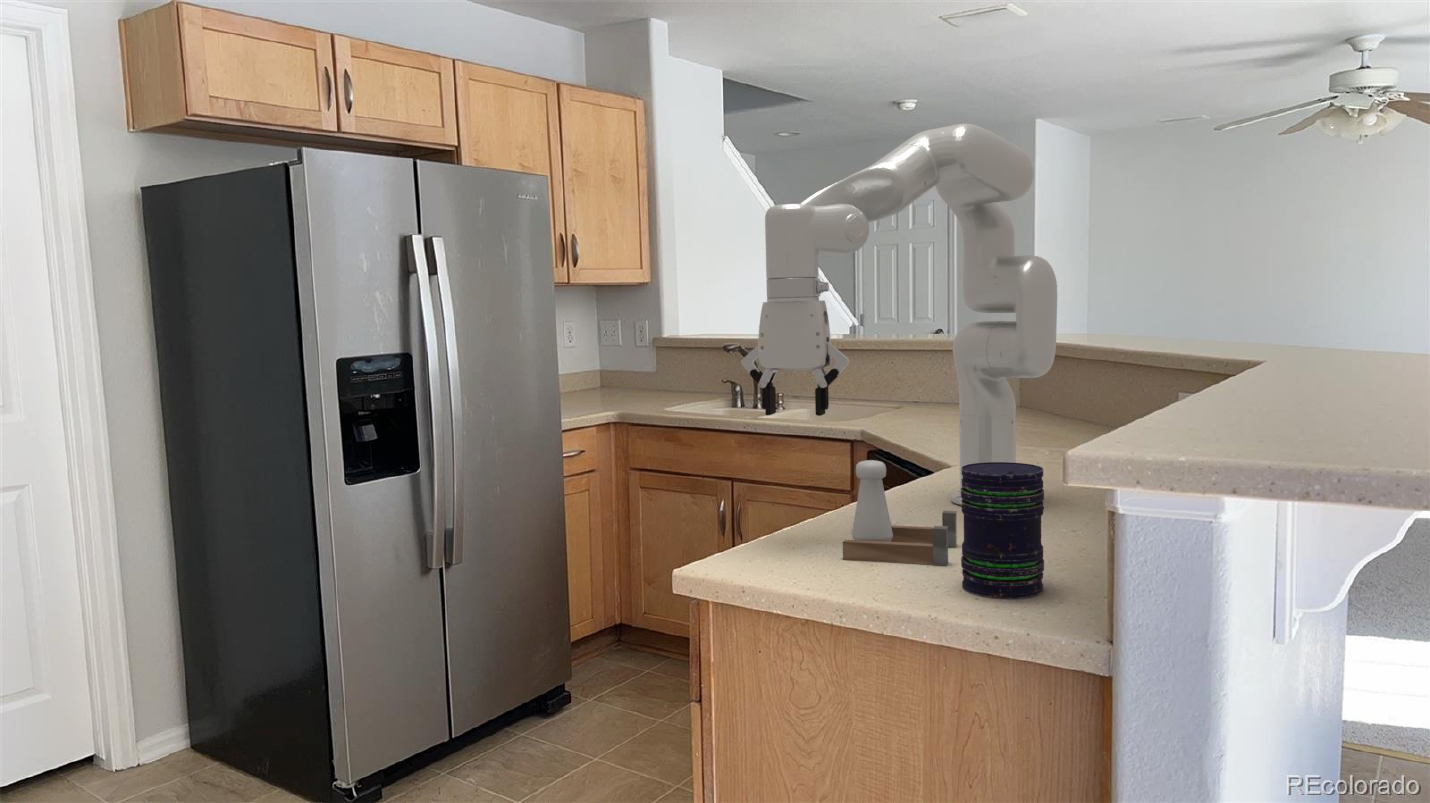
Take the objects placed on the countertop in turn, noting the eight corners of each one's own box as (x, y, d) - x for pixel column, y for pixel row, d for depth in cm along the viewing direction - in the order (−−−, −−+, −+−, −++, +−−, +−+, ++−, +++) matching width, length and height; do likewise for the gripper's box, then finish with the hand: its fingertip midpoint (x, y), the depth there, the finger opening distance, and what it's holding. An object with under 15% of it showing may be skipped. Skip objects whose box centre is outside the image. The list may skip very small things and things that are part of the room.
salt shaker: (900, 549, 145) (899, 460, 144) (878, 557, 141) (876, 465, 140) (866, 543, 149) (865, 457, 148) (844, 551, 145) (842, 462, 144)
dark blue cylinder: (950, 578, 129) (950, 463, 128) (1025, 575, 130) (1025, 460, 128) (976, 601, 119) (976, 476, 118) (1057, 597, 120) (1057, 473, 119)
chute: (860, 539, 152) (859, 507, 151) (956, 544, 147) (956, 510, 146) (842, 559, 140) (842, 524, 140) (946, 565, 136) (946, 529, 135)
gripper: (857, 289, 146) (859, 412, 147) (743, 293, 152) (746, 411, 153) (846, 289, 139) (848, 418, 140) (727, 293, 145) (730, 416, 146)
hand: (795, 413), depth 147 cm, fingers open, 6 cm apart
